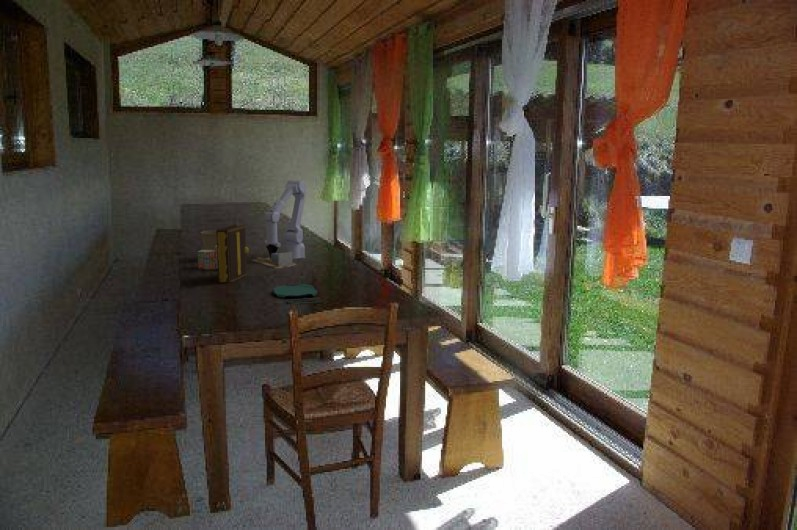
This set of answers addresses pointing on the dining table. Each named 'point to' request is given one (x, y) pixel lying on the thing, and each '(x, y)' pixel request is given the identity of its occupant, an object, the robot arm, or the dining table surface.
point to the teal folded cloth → (297, 293)
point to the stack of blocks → (208, 259)
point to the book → (231, 253)
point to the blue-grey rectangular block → (274, 257)
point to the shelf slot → (283, 260)
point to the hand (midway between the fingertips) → (272, 258)
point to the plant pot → (209, 239)
